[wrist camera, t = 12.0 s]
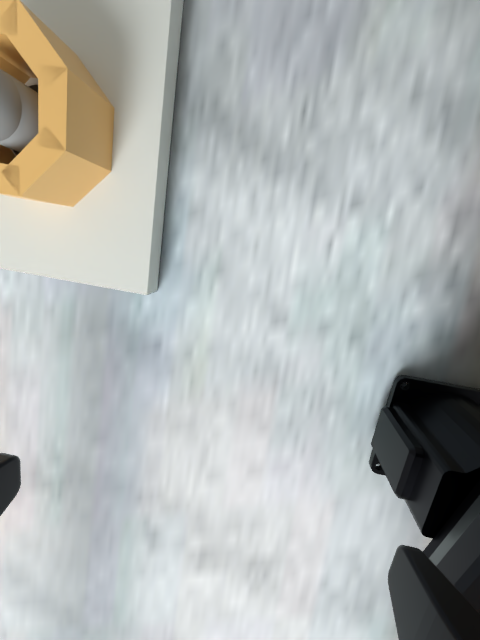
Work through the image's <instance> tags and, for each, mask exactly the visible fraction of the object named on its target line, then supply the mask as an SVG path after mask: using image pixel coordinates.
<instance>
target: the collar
mask: <svg viewBox="0 0 480 640" xmlns="http://www.w3.org/2000/svg"><path fill="white" fill-rule="evenodd" d="M0 69H2V70H3V71H5V72H6V73H8V74H10V75H11V76H13V77H14V78H16V79H17V80H19V81H20V82H22V83H23V84H25V83H26V82H27V81H28V80H29V79H30V78H31V77H32V78H38V134H37V135H36V136H35V137H34V138H33V139H32V140H31V141H30V142H29V144H28V145H27V146H26V147H25V148H24V149H23V150H22V151H21V152H20V153H19V154H18V155H17V156H15V155H14V153H13V152H12V151H11V149H10V148H7V147H4V146H2V145H0V194H1V195H6V196H11V197H17V198H22V199H28V200H34V201H40V202H46V203H52V204H58V205H64V206H70V207H74V206H75V205H76V204H77V203H78V202H79V201H80V200H81V199H82V198H83V197H84V196H85V195H87V194H88V193H89V192H90V191H91V190H92V189H93V188H94V187H95V186H96V185H97V184H98V183H100V182H101V181H102V180H103V179H104V178H105V177H106V176H107V175H108V174H109V173H110V172H111V167H112V148H113V129H114V110H115V108H114V107H113V105H112V104H111V103H110V101H109V100H108V98H107V97H106V95H105V94H104V93H103V91H102V90H101V88H100V87H99V86H98V84H97V83H96V81H95V80H94V78H93V77H92V76H91V74H90V73H89V71H88V70H87V69H86V67H85V66H84V64H83V63H82V62H81V60H80V59H79V57H78V56H77V55H76V54H75V53H74V52H73V51H72V50H71V49H70V48H69V47H68V46H67V45H66V44H65V43H64V42H63V41H62V40H61V39H60V38H59V37H58V36H57V35H56V34H55V33H54V32H53V31H51V30H50V29H49V28H48V27H47V26H46V25H45V24H44V23H43V22H42V21H41V20H40V19H39V18H38V17H37V16H36V15H35V14H34V13H33V12H32V11H31V10H30V9H29V8H28V7H27V6H25V5H24V4H23V3H22V2H21V1H20V0H0Z"/></svg>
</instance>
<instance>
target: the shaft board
mask: <svg viewBox="0 0 480 640" xmlns="http://www.w3.org/2000/svg"><path fill="white" fill-rule="evenodd" d="M20 1H21V2H22V3H23V4H24V5H25V6H27V7H28V8H29V9H30V10H31V11H32V12H33V13H34V14H35V15H36V16H37V17H38V18H39V19H40V20H41V21H42V22H43V23H44V24H45V25H46V26H47V27H48V28H49V29H50V30H51V31H53V32H54V33H55V34H56V35H57V36H58V37H59V38H60V39H61V40H62V41H63V42H64V43H65V44H66V45H67V46H68V47H69V48H70V49H71V50H72V51H73V52H74V53H75V54H76V55H77V56H78V57H79V59H80V60H81V62H82V63H83V64H84V66H85V67H86V69H87V70H88V71H89V73H90V74H91V76H92V77H93V78H94V80H95V81H96V83H97V84H98V86H99V87H100V88H101V90H102V91H103V93H104V94H105V95H106V97H107V98H108V100H109V101H110V103H111V104H112V105H113V107H114V108H115V110H114V129H113V148H112V167H111V172H110V173H109V174H108V175H107V176H106V177H105V178H104V179H103V180H102V181H101V182H100V183H98V184H97V185H96V186H95V187H94V188H93V189H92V190H91V191H90V192H89V193H88V194H87V195H85V196H84V197H83V198H82V199H81V200H80V201H79V202H78V203H77V204H76V205H75V206H74V207H70V206H64V205H58V204H52V203H46V202H40V201H34V200H28V199H22V198H17V197H11V196H6V195H1V194H0V269H5V270H11V271H16V272H22V273H28V274H33V275H39V276H44V277H50V278H55V279H61V280H66V281H72V282H77V283H83V284H88V285H94V286H99V287H105V288H110V289H116V290H121V291H127V292H132V293H138V294H144V295H149V294H151V293H154V292H157V288H158V277H159V266H160V255H161V244H162V233H163V222H164V211H165V200H166V189H167V178H168V167H169V156H170V145H171V134H172V123H173V112H174V101H175V90H176V79H177V68H178V57H179V46H180V35H181V24H182V13H183V2H184V0H20ZM37 134H38V78H32V77H31V78H30V79H29V80H28V81H27V82H26V83H25V84H23V83H22V82H20V81H19V80H17V79H16V78H14V77H13V76H11V75H10V74H8V73H6V72H5V71H3V70H2V69H0V145H2V146H4V147H7V148H10V149H11V151H12V152H13V153H14V155H15V156H17V155H18V154H19V153H20V152H21V151H22V150H23V149H24V148H25V147H26V146H27V145H28V144H29V142H30V141H31V140H32V139H33V138H34V137H35V136H36V135H37Z"/></svg>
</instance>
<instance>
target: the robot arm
mask: <svg viewBox="0 0 480 640" xmlns="http://www.w3.org/2000/svg"><path fill="white" fill-rule="evenodd" d="M403 382H407V385H406V386H405V387H401V384H402V383H403ZM371 445H372V447H373V450H372V454H371V457H370V460H369V464H370V467H371V469H372V471H373V472H374V473H377V474H381V475H386V477H387V479H388V481H389V483H390V485H391V487H392V489H393V491H394V493H395V494H396V496H397V497H398V498H400V499H405V501H406V503H407V505H408V507H409V509H410V511H411V513H412V515H413V517H414V519H415V521H416V523H417V525H418V527H419V529H420V531H421V533H422V534H423V536H426V537H429V538H433V540H432V541H431V542H430V543H429V545H428V546H427V547H426V548H425V550H424V551H423V552H422V551H421V550H420V549H417V548H414V547H409V546H405V545H400V546H399V547H398V548H397V550H396V553H395V556H394V558H393V561H392V564H391V567H390V569H389V573H388V585H389V590H390V596H391V601H392V606H393V612H394V617H395V622H396V627H397V633H398V638H399V640H480V389H475V388H469V387H464V386H459V385H454V384H448V383H443V382H438V381H433V380H427V379H422V378H417V377H411V376H406V375H401V376H398V377H397V378H395V380H394V382H393V385H392V389H391V392H390V395H389V398H388V402H387V405H386V406H385V407H384V408H383V409H382V410H381V413H380V416H379V419H378V423H377V426H376V429H375V432H374V436H373V439H372V442H371ZM378 463H380V464H381V465H380V466H376V464H378ZM20 485H21V472H20V459H19V457H17V456H14V455H10V454H6V453H0V516H1V515H2V513H3V512H4V511H5V509H6V508H7V507H8V505H9V504H10V503H11V501H12V500H13V499H14V497H15V496H16V495H17V493H18V491H19V488H20Z"/></svg>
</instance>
